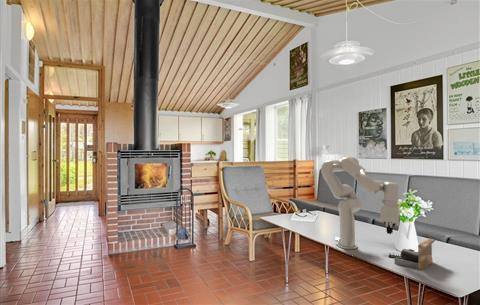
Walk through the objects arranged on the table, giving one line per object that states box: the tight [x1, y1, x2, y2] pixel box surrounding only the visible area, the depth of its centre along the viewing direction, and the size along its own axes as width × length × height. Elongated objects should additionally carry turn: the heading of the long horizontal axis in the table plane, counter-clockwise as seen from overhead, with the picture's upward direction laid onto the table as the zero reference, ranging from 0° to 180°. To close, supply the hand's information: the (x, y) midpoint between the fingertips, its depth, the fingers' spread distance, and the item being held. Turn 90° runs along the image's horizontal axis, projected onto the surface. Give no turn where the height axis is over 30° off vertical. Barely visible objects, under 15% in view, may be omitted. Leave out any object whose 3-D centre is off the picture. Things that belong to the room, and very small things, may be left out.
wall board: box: [417, 238, 436, 271], centre depth 166 cm, size 3×18×13 cm, turn 133°
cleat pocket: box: [394, 257, 419, 270], centre depth 172 cm, size 12×18×3 cm, turn 133°
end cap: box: [400, 248, 418, 263], centre depth 172 cm, size 10×7×7 cm
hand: (389, 233), depth 181 cm, fingers closed
